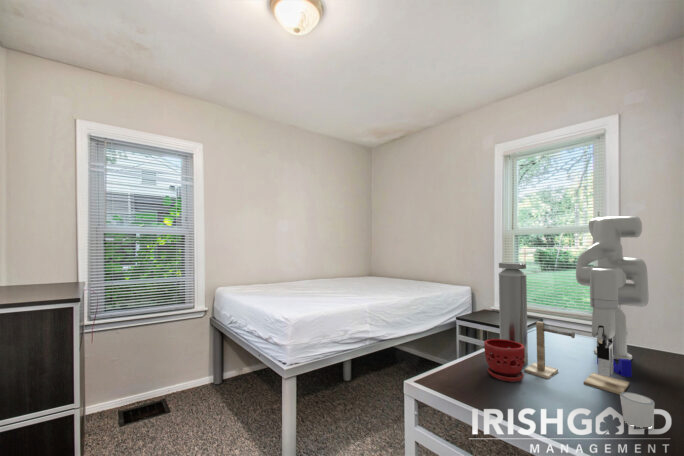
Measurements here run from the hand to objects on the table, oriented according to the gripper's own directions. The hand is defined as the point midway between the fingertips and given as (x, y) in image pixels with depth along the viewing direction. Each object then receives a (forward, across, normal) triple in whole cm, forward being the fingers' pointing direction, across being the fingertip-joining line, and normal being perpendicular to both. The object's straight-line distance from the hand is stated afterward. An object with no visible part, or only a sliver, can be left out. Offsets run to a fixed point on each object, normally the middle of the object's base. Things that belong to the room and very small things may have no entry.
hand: (605, 356), depth 108 cm
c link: (+6, 0, 0) cm, 6 cm away
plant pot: (+10, +21, -25) cm, 34 cm away
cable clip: (+10, -18, -1) cm, 21 cm away
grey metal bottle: (+10, +3, -29) cm, 31 cm away
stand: (+10, +6, -15) cm, 18 cm away
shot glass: (+10, +24, +11) cm, 28 cm away
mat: (+10, 0, 0) cm, 10 cm away
